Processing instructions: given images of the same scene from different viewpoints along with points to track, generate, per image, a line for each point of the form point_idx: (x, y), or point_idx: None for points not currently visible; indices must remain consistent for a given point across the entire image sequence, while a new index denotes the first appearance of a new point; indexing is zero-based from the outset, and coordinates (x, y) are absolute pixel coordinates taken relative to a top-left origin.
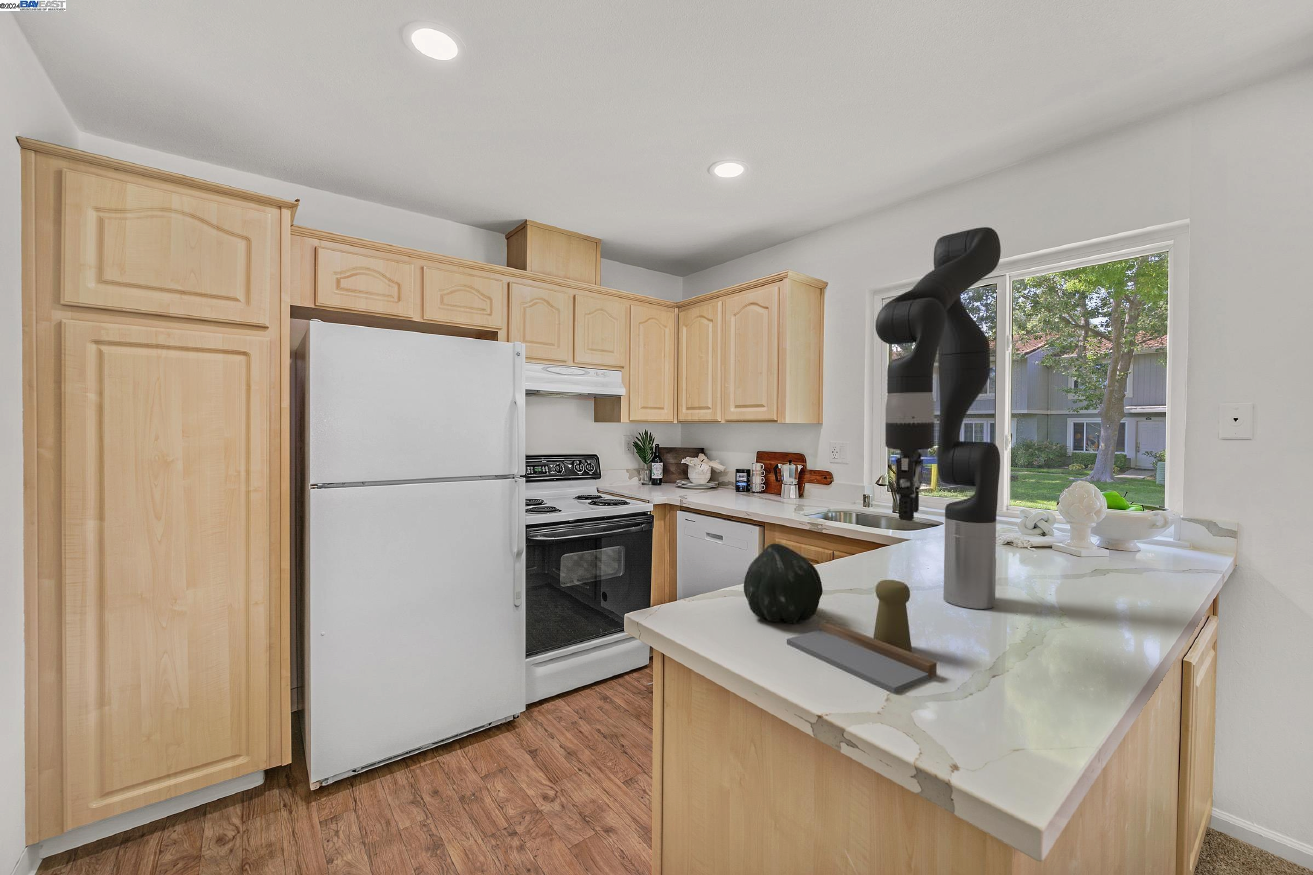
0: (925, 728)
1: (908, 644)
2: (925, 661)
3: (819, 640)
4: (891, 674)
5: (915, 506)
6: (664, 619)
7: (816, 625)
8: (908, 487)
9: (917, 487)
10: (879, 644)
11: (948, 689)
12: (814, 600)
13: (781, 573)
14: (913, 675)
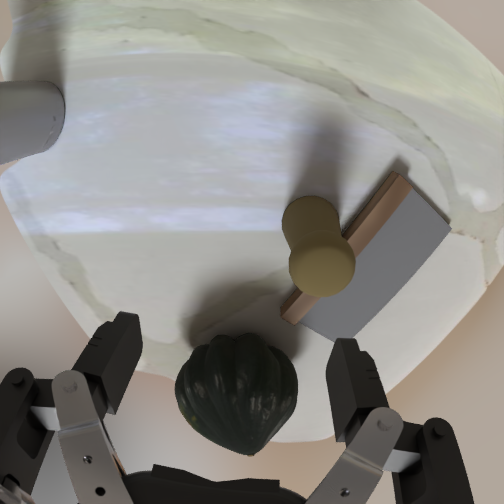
0: (499, 202)
1: (327, 205)
2: (400, 189)
3: (336, 315)
4: (421, 229)
5: (130, 334)
6: (307, 434)
7: (259, 321)
8: (101, 417)
9: (91, 394)
10: (356, 248)
11: (424, 162)
12: (267, 350)
13: (287, 414)
14: (418, 203)
